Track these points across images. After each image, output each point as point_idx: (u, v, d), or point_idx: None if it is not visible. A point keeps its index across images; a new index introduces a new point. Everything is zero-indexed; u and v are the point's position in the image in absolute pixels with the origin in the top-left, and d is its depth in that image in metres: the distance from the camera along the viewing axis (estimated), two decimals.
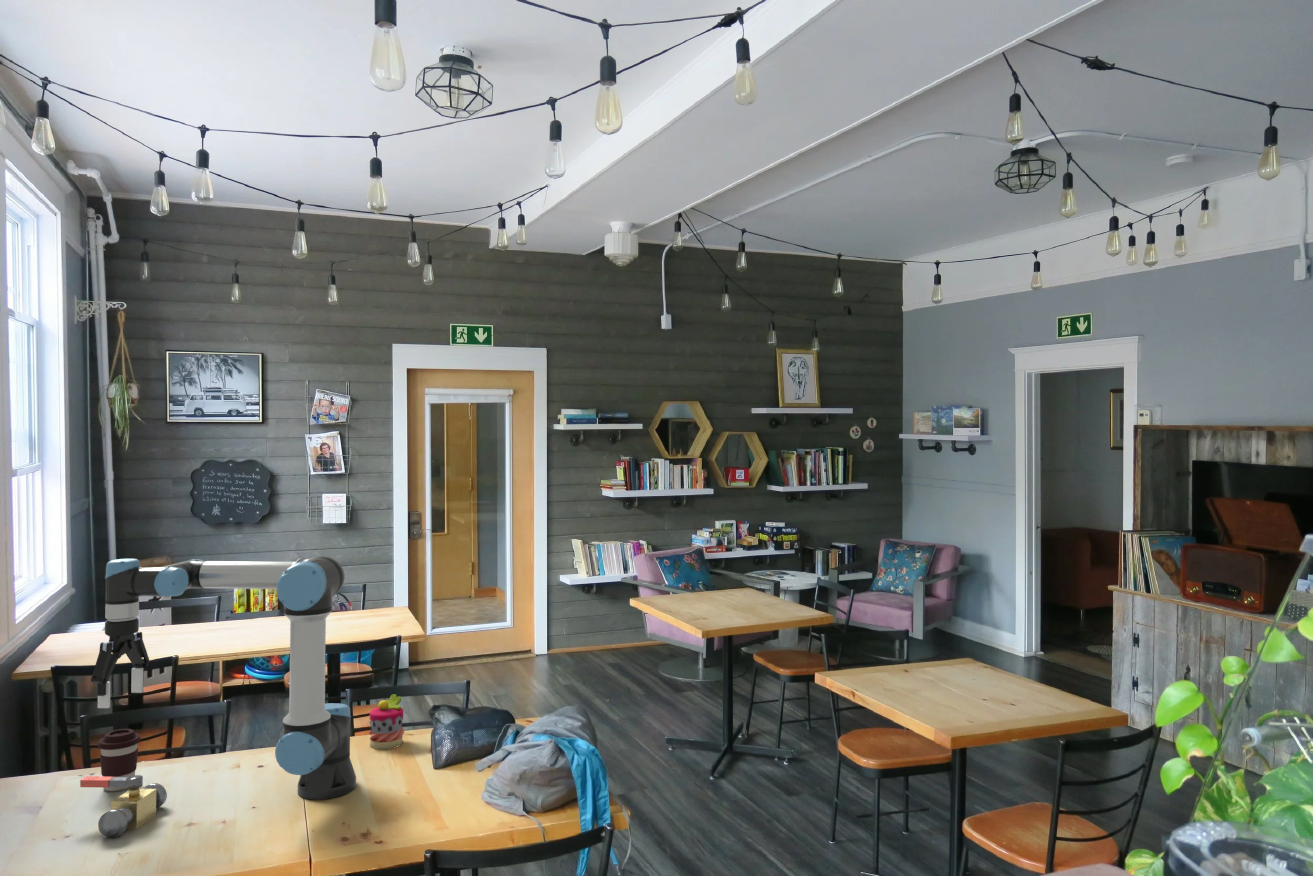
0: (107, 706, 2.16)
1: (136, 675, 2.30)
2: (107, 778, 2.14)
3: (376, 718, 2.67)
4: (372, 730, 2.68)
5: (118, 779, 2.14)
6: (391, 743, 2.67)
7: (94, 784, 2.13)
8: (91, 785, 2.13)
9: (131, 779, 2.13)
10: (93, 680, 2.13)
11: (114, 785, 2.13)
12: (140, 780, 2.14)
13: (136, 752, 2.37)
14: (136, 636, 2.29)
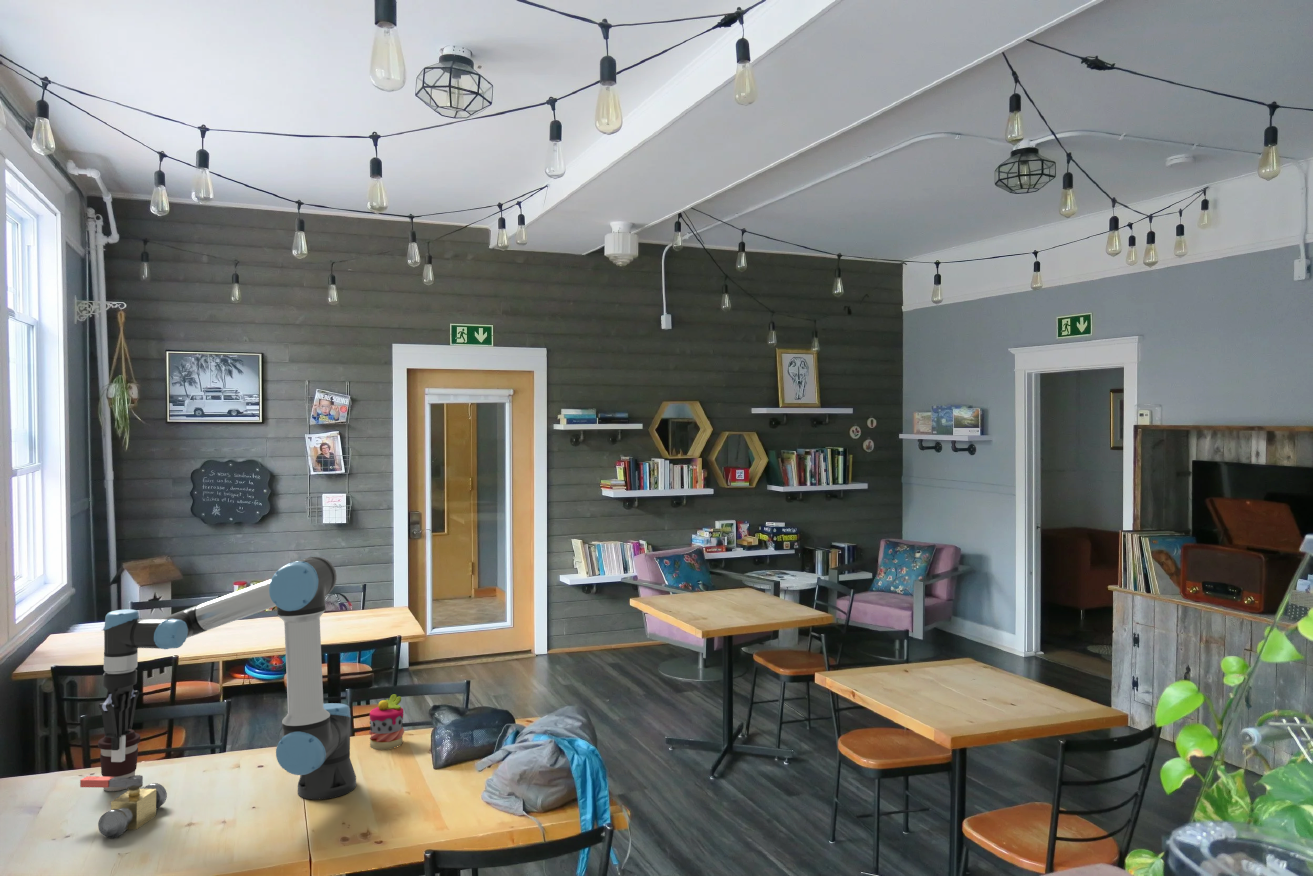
0: (120, 760, 2.22)
1: None
2: (107, 778, 2.14)
3: (376, 718, 2.67)
4: (372, 730, 2.68)
5: (118, 779, 2.14)
6: (391, 743, 2.67)
7: (94, 784, 2.13)
8: (91, 785, 2.13)
9: (131, 779, 2.13)
10: (107, 735, 2.19)
11: (114, 785, 2.13)
12: (140, 780, 2.14)
13: (136, 752, 2.37)
14: (133, 693, 2.27)
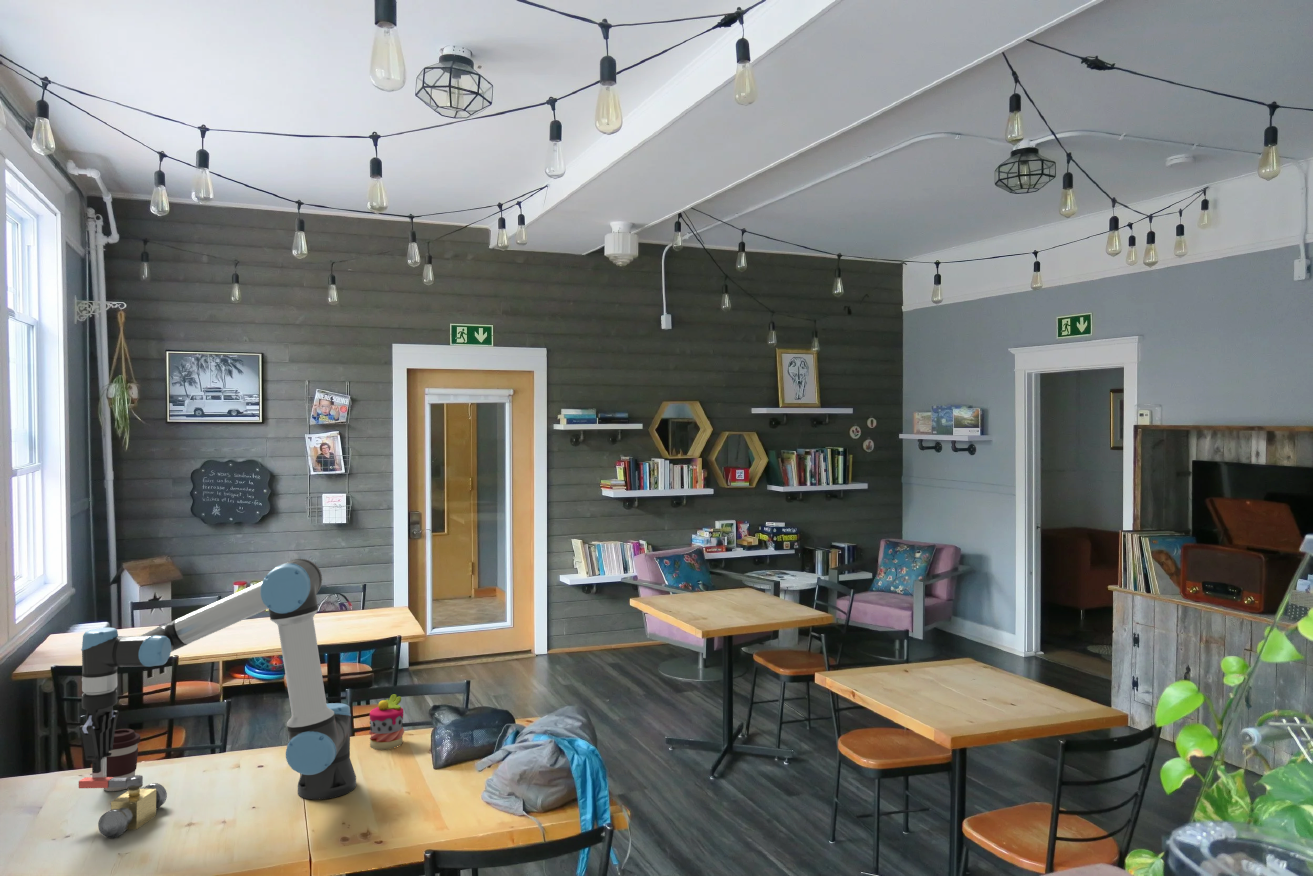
0: None
1: None
2: (106, 779, 2.14)
3: (376, 718, 2.67)
4: (372, 730, 2.68)
5: (118, 779, 2.14)
6: (391, 743, 2.67)
7: (93, 785, 2.13)
8: (90, 786, 2.13)
9: (131, 779, 2.13)
10: (88, 758, 2.12)
11: (114, 785, 2.13)
12: (140, 780, 2.14)
13: (136, 752, 2.37)
14: (112, 713, 2.20)
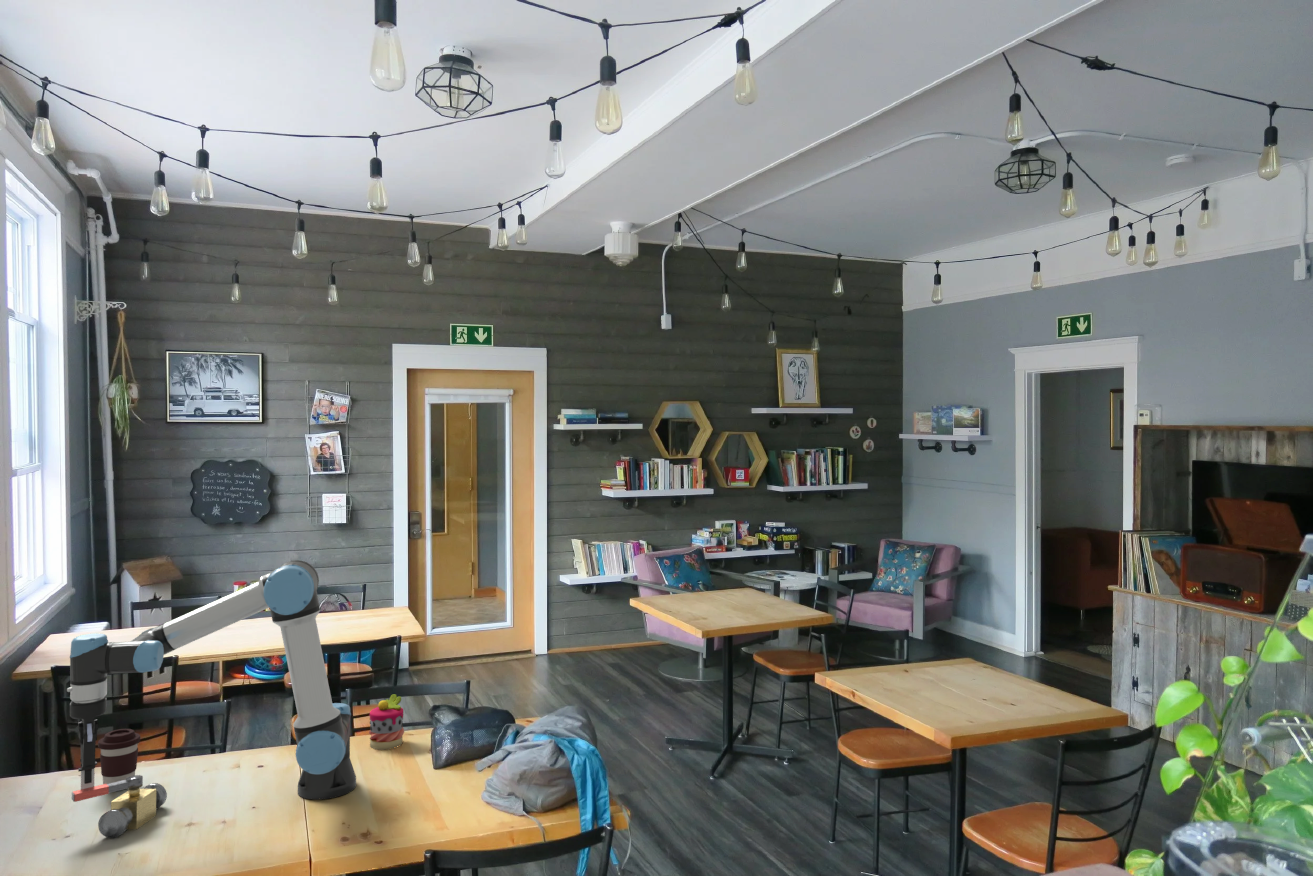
0: None
1: None
2: (102, 786, 2.09)
3: (376, 718, 2.67)
4: (372, 730, 2.68)
5: (117, 783, 2.11)
6: (391, 743, 2.67)
7: (92, 794, 2.07)
8: (88, 796, 2.06)
9: (135, 779, 2.13)
10: (86, 768, 2.06)
11: (115, 790, 2.10)
12: (142, 778, 2.15)
13: (136, 752, 2.37)
14: None
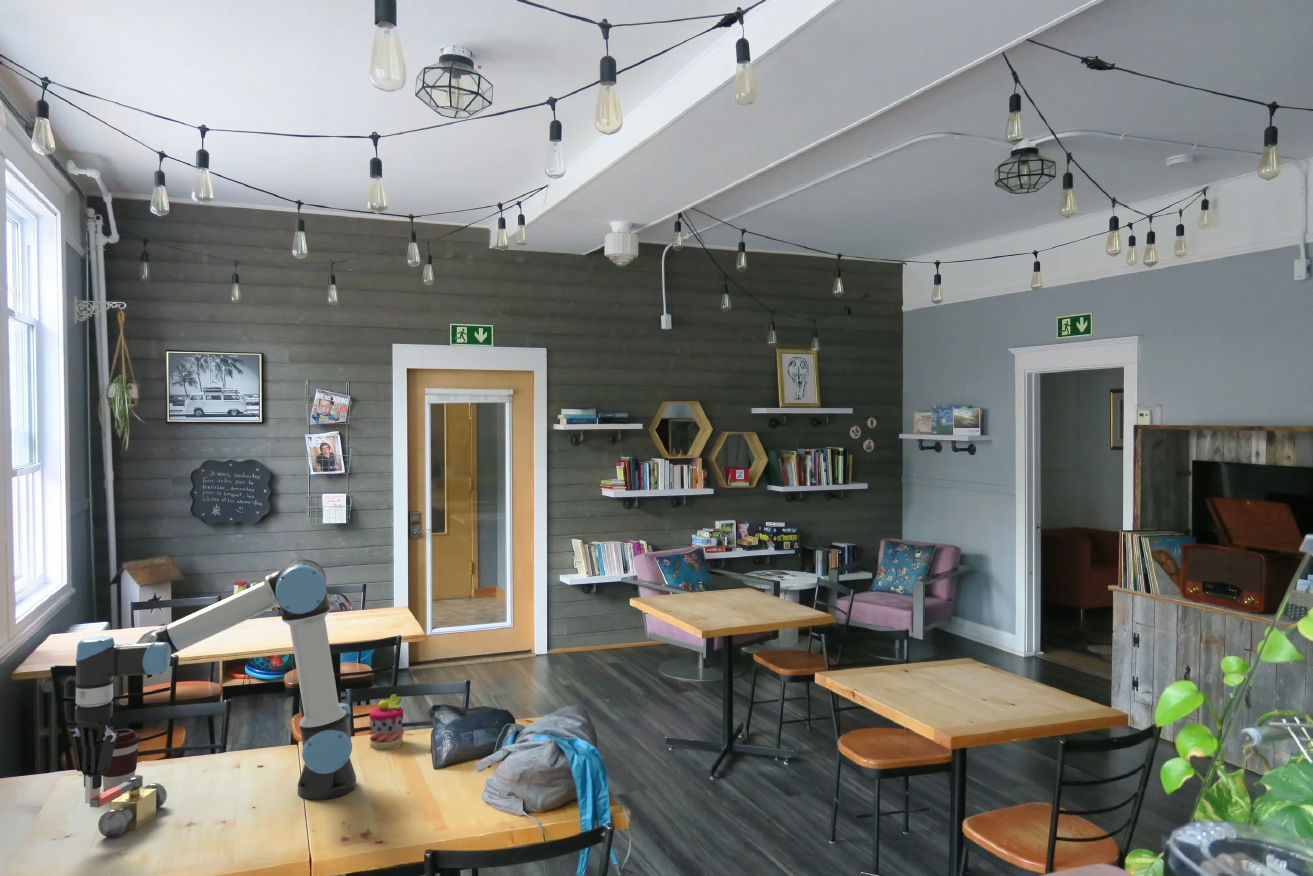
0: None
1: None
2: (114, 789, 2.08)
3: (376, 718, 2.67)
4: (372, 730, 2.68)
5: (124, 785, 2.10)
6: (391, 743, 2.67)
7: (111, 798, 2.05)
8: (108, 800, 2.04)
9: (137, 778, 2.14)
10: (103, 771, 2.03)
11: (125, 791, 2.10)
12: None
13: (136, 752, 2.37)
14: None
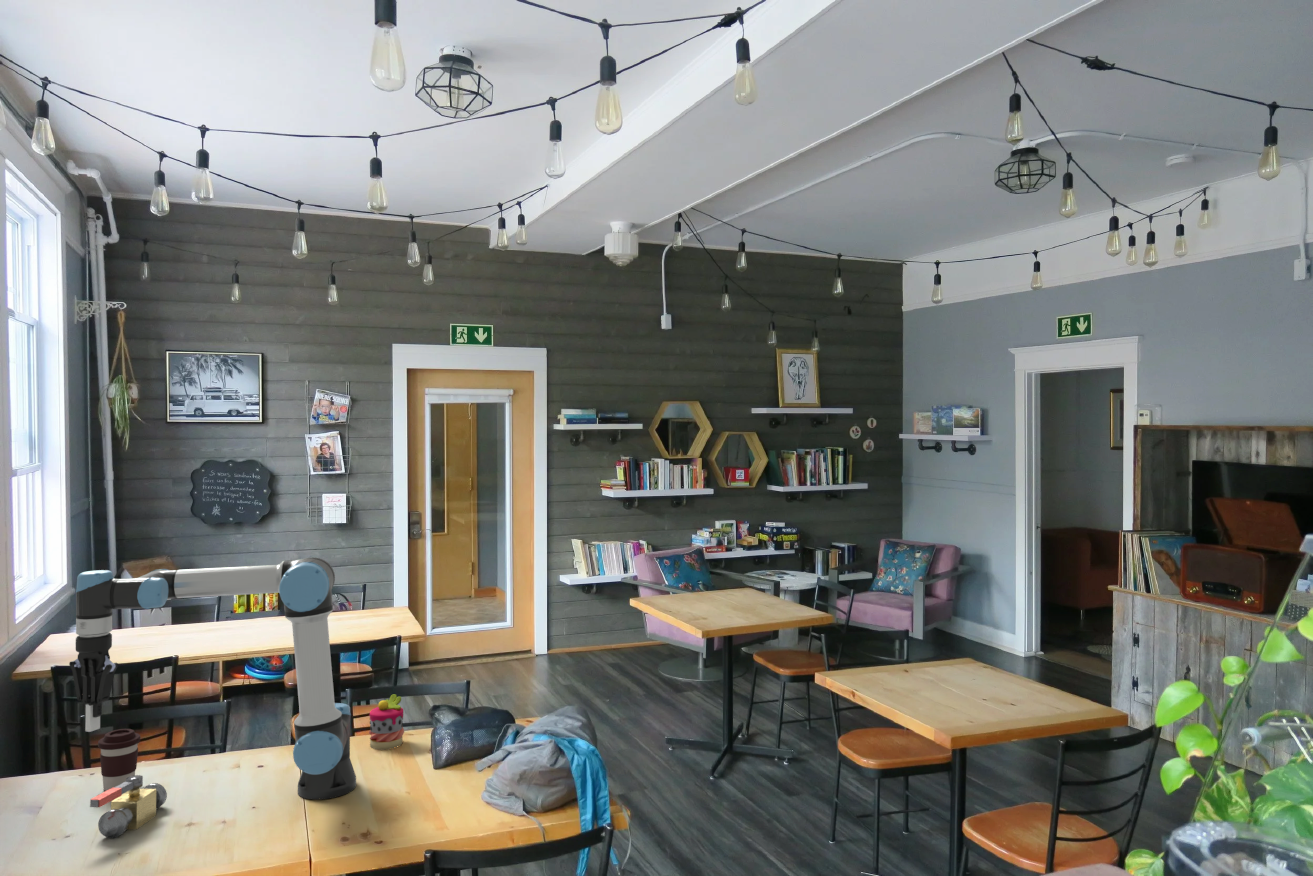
0: (99, 726, 2.11)
1: None
2: (114, 789, 2.08)
3: (376, 718, 2.67)
4: (372, 730, 2.68)
5: (124, 785, 2.10)
6: (391, 743, 2.67)
7: (111, 798, 2.05)
8: (108, 800, 2.04)
9: (137, 778, 2.14)
10: (102, 700, 2.09)
11: (125, 791, 2.10)
12: None
13: (136, 752, 2.37)
14: None
